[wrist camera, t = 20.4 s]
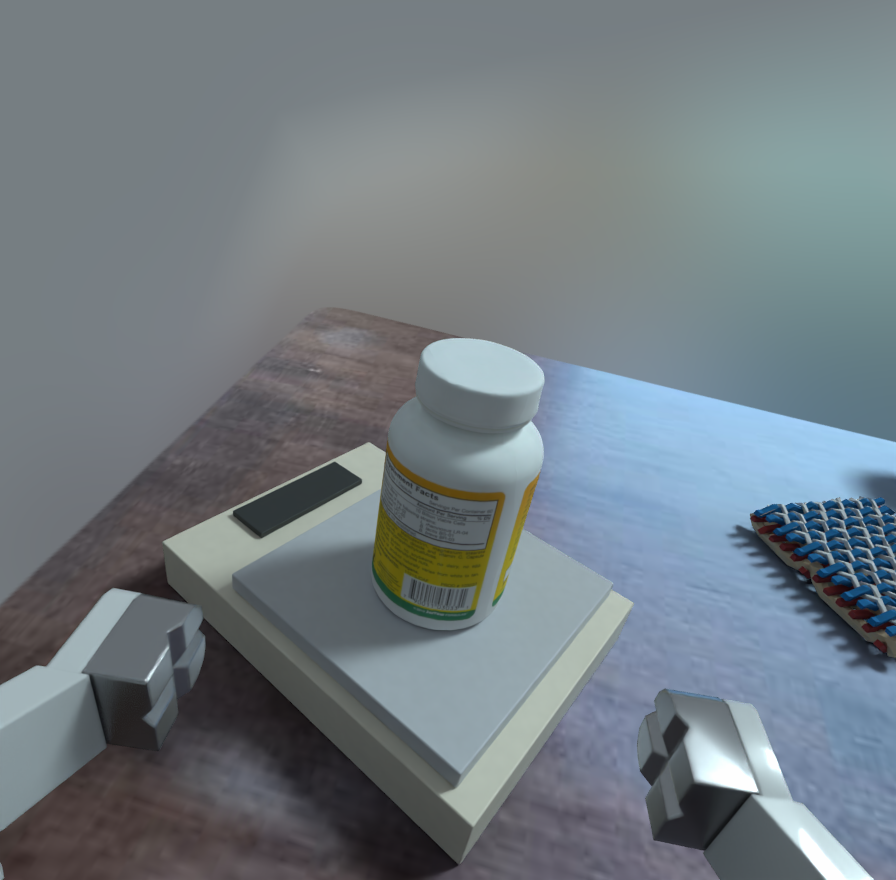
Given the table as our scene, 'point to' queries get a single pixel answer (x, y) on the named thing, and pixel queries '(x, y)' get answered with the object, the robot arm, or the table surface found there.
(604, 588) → the kitchen scale
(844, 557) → the woven mat
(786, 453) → the table surface
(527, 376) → the supplement bottle
